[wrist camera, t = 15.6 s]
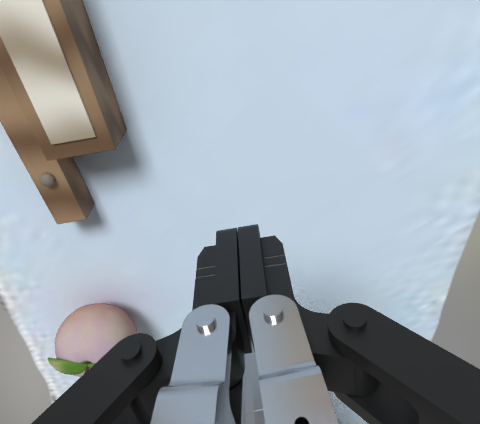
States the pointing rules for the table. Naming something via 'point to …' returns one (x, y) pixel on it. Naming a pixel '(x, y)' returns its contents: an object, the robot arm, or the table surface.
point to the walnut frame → (59, 77)
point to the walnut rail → (44, 164)
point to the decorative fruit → (89, 337)
